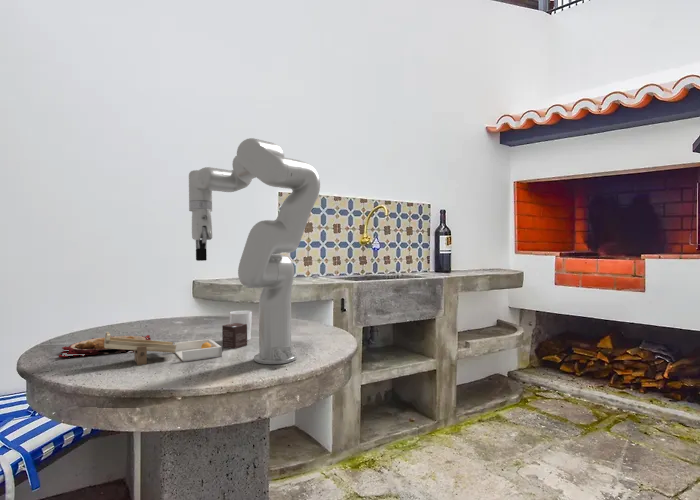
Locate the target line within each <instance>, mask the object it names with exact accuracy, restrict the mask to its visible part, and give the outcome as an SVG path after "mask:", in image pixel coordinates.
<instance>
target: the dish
mask: <svg viewBox="0 0 700 500" xmlns="http://www.w3.org/2000/svg"><path fill="white" fill-rule="evenodd" d="M206 342H207V343H209V344H210V345H211V348H203V349H201V346H202V344H203V343H206ZM173 345H176V349H175V353H174V354H175V355H176V356H177V358H179V359H180V361H182V362H184V363H185V362H192V361H193V362H194V361H199V360H200V361H201V360H206V359H215V358H220V357H221V358H222V357H223V346H221V345H220V344H218V343H217V342H215V340H213V339H211V338H207V339H196V340H188V341H179V342H173Z"/></svg>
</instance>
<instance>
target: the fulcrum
mask: <svg viewBox="0 0 700 500" xmlns="http://www.w3.org/2000/svg"><path fill="white" fill-rule="evenodd" d="M147 352H148V351H147V347H146V346H140V347H137V350H134V352H133V353H134V358H133V359H134V361H135V362H136V365H137V366H143V365H142V364H144V365H147V363H148V359H147V358H148V357H147V356H148V354H147Z"/></svg>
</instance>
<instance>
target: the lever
mask: <svg viewBox="0 0 700 500" xmlns="http://www.w3.org/2000/svg"><path fill="white" fill-rule="evenodd" d="M110 336H112V335H111V333H110V332H109V331H106V332H105V336H104V337H105V340H104V347H105V348H111V349H112V350H118V349H126V350H125V351H128V350H137V347H140V346H146V347H147V352H159V353H171V354H172V353H173V354H175V349H176V345H174V342H173V341H166V340H160V339H159V340H158V339H153V340H152V339H151V340H140V339H128V338H115V337H116V336H115V337H113V336H112V337H110Z"/></svg>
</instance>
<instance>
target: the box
mask: <svg viewBox="0 0 700 500" xmlns="http://www.w3.org/2000/svg"><path fill="white" fill-rule="evenodd" d="M221 327H222V329H221V330H222V336H221V341H222V342H221V345H222V346H221V347H222V348H230V349H233V350H234V349H235V350H236V349H237V348H242V347H244V346H248V340H247V324H240V323H232V324H230V323H228V324H224V325H222V326H221Z"/></svg>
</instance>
